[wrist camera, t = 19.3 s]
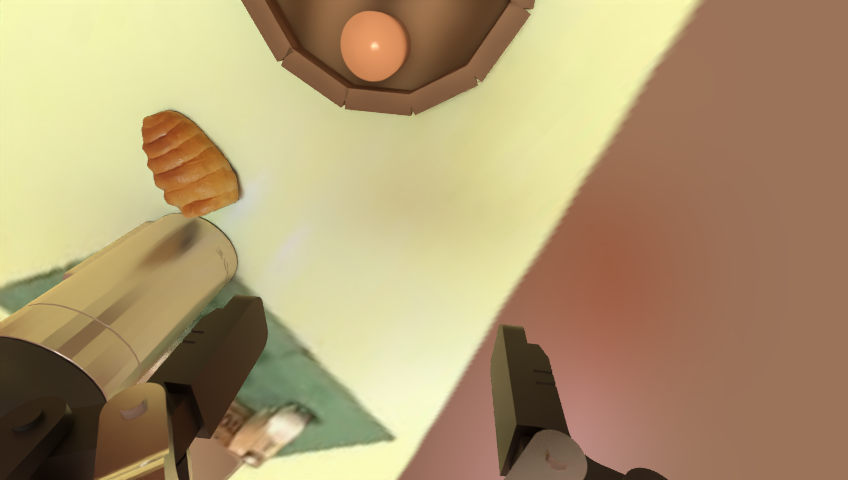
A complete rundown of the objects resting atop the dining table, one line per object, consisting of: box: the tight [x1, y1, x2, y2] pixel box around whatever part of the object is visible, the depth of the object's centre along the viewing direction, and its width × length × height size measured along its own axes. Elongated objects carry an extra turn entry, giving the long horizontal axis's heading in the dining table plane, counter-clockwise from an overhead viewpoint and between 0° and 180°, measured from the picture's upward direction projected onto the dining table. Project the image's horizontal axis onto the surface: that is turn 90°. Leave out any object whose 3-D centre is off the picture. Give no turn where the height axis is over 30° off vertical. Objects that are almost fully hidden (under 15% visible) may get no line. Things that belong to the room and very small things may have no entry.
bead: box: [340, 11, 411, 81], centre depth 26 cm, size 4×4×4 cm
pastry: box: [142, 110, 239, 218], centre depth 34 cm, size 9×7×4 cm
